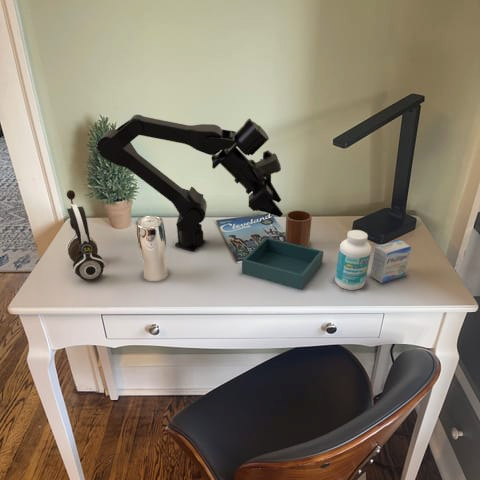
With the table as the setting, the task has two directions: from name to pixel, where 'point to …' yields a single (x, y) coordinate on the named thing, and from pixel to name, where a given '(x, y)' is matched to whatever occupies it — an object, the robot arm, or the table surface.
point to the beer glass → (152, 246)
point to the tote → (282, 263)
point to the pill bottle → (353, 260)
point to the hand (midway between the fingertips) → (280, 208)
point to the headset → (83, 245)
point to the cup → (298, 227)
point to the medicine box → (390, 261)
